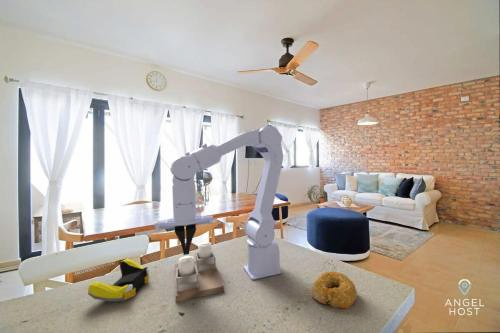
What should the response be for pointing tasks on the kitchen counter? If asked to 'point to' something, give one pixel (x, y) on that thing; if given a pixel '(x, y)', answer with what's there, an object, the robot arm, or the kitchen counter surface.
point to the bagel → (334, 290)
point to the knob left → (186, 266)
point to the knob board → (198, 280)
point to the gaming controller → (121, 283)
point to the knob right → (204, 250)
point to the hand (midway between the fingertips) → (186, 253)
